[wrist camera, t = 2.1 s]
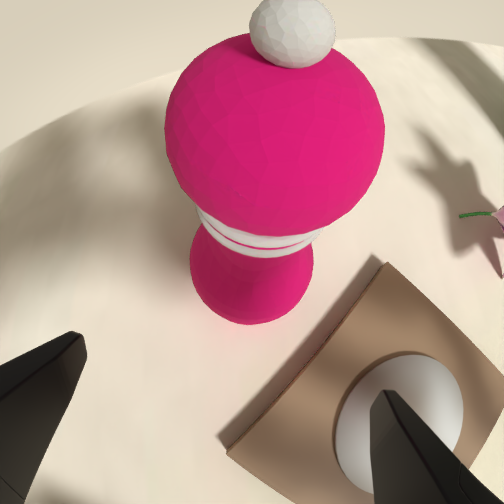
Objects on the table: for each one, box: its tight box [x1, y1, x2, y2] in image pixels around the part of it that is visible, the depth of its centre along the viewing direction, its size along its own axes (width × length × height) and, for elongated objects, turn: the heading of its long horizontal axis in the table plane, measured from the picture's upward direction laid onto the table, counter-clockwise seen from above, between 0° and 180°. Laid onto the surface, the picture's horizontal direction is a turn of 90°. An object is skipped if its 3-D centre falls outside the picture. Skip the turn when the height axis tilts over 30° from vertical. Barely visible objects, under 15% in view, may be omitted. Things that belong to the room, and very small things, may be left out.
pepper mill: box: [164, 0, 385, 325], centre depth 14 cm, size 7×7×20 cm
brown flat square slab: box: [226, 262, 504, 504], centre depth 19 cm, size 18×18×2 cm
